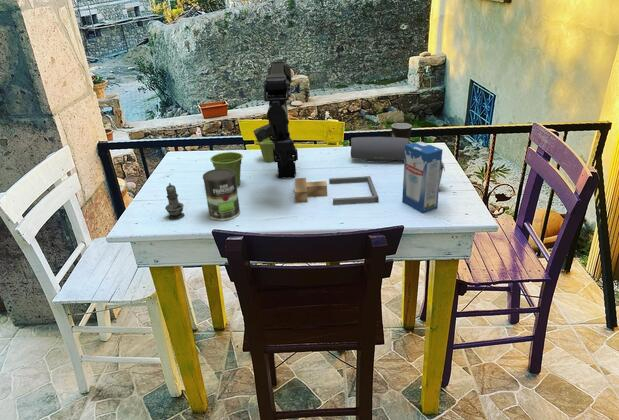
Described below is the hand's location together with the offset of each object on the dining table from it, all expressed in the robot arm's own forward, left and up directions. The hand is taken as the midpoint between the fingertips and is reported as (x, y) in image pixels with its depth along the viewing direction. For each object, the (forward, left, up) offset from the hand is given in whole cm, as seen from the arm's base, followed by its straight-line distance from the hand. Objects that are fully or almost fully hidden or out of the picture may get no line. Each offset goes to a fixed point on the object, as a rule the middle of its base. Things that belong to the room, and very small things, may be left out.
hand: (282, 162), depth 153 cm
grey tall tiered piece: (-36, -10, -13) cm, 39 cm away
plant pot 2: (-7, +38, -13) cm, 41 cm away
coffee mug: (+50, +45, -13) cm, 69 cm away
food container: (+50, +2, -13) cm, 52 cm away
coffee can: (-20, -10, -13) cm, 26 cm away
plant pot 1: (-21, +13, -13) cm, 28 cm away
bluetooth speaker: (+38, +30, -13) cm, 50 cm away
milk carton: (+44, -12, -13) cm, 48 cm away
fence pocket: (+23, +1, -13) cm, 27 cm away
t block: (+9, +1, -13) cm, 16 cm away
